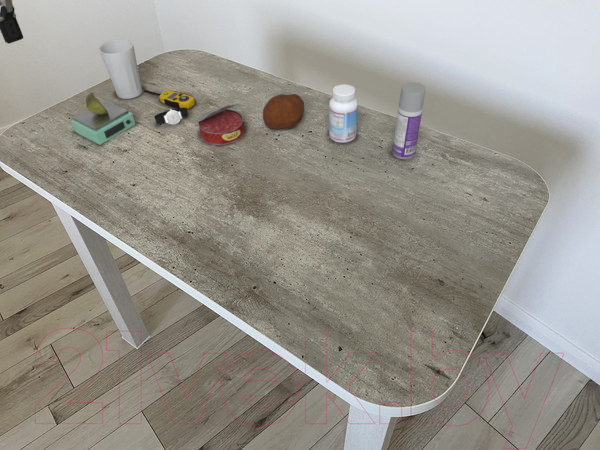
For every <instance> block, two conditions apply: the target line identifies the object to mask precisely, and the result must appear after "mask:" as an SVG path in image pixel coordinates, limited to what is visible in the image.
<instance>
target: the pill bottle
mask: <svg viewBox="0 0 600 450" xmlns="http://www.w3.org/2000/svg"><path fill="white" fill-rule="evenodd" d="M358 111H359V102H358V100H357V98H356V88H355V87H354V86H353V85H352V84H351V85H350V84H342V83H341V84H337V85H335V86H334V87H333V88H332V97H331V98H330V100H329V102H328V136H329V138H330V139H331V140H332V141H333V142H336V143H339V144H341V143H342V144H343V143H350V142H352V141H354V140H355V139H356V136H357V128H358V126H357V125H358V113H359V112H358Z"/></svg>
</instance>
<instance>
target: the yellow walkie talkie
mask: <svg viewBox="0 0 600 450" xmlns="http://www.w3.org/2000/svg"><path fill="white" fill-rule="evenodd" d="M143 92H144V93H146V94H151V95H154V96H157V97H159V100H160V102H161V103H163V104H164V105H165V106H168V107H171V108H173V109H176V108H187V110H189V109H191V108H192V107H193V106H195V103H196V102H195V98H194V97H193V96H191V95H190V94H188V93H185V92H182V91H178V90H177V91H176V90H175V91H172V90H165V91H164V92H162V93H160V92H159V93H158V92H155V91H152V90H148V89H143Z"/></svg>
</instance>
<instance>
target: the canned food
mask: <svg viewBox="0 0 600 450" xmlns="http://www.w3.org/2000/svg"><path fill="white" fill-rule="evenodd" d="M238 105H239V103H235V104H229V105H226V106H223V107H220V108H217V109H214V110H210V111H208V112H206V113H205V114H203V115H202V116H200V117H199V118H197V120H196V122H197V124H198V130H199V134H200V137H201V139H202V141H204V142H205V143H207V144H210V145H214V146H225V145H229V144H233V143H235V142H237V141H239V140H240V139H241V138H243V136H244V134H245V125H244V117H243V116H242V114H241V113H240V112H238V111H237V110H235V109H234V110H233V109H231V108H233V107H235V106H238Z"/></svg>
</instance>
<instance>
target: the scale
mask: <svg viewBox="0 0 600 450" xmlns="http://www.w3.org/2000/svg"><path fill="white" fill-rule="evenodd" d="M128 112H129V114H127V115H125V116H123V117H121V118H120V119H118V120H116V121H114V122H112V123H111V124H109V125H107V126H105V127H104V128H102V129H100V130H98V131H94V130H92V129H90V128H88V127H86V126H84V125H82V124H80V123H78V122H76V121H74V119H72V120H71V121H70V123H71V124H72V125H71V126H72V127H73V130H74V132H75V133H77V134H78V135H80V136H82V137H84V138H86V139H88V140H89V141H91V142H94V143H95V144H97V145H99V146H101V145H102V144H104V143H106V142H108V141H109V140H111V139H113V138H115V137H116V136H118V135H120V134H122V133H123V132H124V131H126V130H128V129H130V128H132V127H133V126H136V122H135V118H134V115H133V112H130V111H128Z"/></svg>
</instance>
